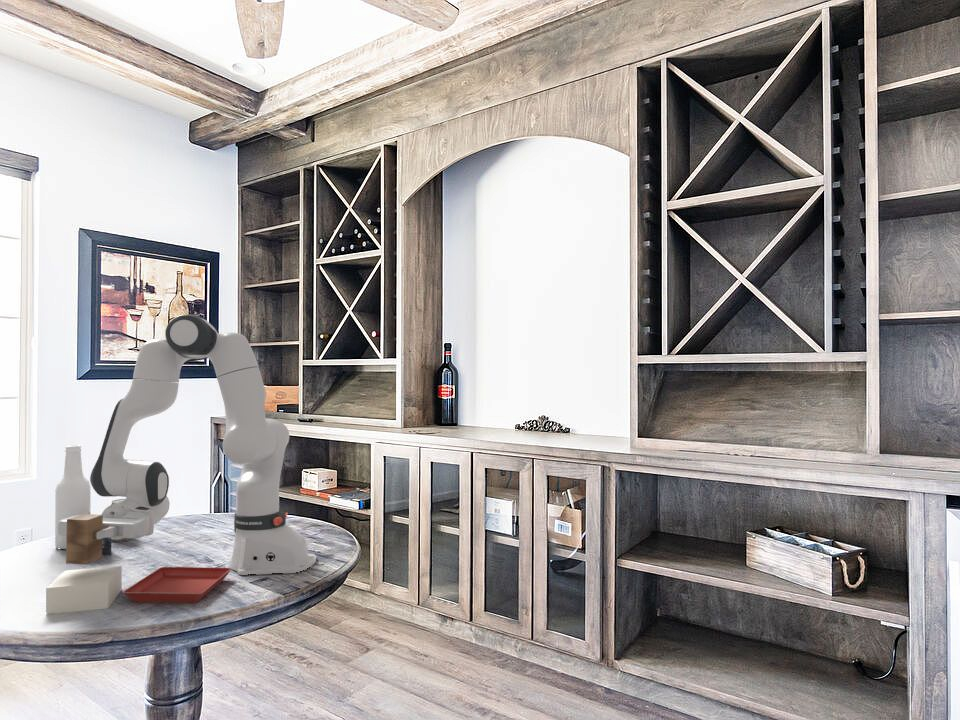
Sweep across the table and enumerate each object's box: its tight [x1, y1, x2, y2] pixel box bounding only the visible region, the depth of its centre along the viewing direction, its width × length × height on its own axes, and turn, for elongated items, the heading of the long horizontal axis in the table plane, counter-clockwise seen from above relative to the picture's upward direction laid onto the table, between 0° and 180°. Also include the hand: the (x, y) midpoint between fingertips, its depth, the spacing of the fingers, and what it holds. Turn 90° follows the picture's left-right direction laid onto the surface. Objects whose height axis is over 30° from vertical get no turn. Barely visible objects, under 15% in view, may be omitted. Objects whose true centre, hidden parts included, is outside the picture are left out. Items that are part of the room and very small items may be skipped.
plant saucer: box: [123, 566, 232, 604], centre depth 152 cm, size 18×18×3 cm
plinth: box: [45, 565, 123, 614], centre depth 146 cm, size 12×12×6 cm
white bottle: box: [54, 444, 91, 549], centre depth 189 cm, size 9×9×30 cm
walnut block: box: [65, 513, 103, 565], centre depth 146 cm, size 5×5×10 cm
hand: (82, 535), depth 145 cm, fingers closed on walnut block, 5 cm apart
